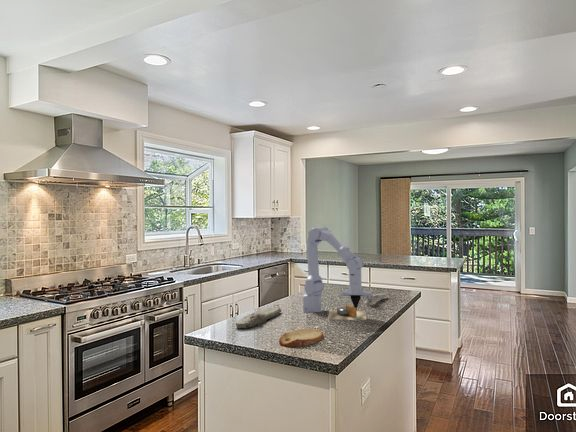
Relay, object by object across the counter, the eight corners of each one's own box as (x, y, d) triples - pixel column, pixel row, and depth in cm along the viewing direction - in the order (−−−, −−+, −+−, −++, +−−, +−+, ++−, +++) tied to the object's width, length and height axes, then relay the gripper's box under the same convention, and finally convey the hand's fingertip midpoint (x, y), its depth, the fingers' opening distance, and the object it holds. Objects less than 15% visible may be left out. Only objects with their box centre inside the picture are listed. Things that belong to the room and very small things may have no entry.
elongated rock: (286, 316, 199) (269, 315, 203) (286, 305, 199) (269, 304, 204) (249, 330, 168) (230, 329, 172) (249, 318, 168) (230, 317, 173)
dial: (334, 312, 193) (333, 303, 193) (347, 310, 196) (347, 301, 196) (347, 318, 181) (347, 308, 181) (362, 316, 184) (362, 306, 184)
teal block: (353, 318, 182) (353, 318, 182) (355, 318, 182) (355, 317, 182) (355, 319, 180) (355, 319, 180) (358, 319, 180) (358, 318, 180)
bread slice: (322, 333, 164) (322, 324, 164) (326, 347, 146) (325, 338, 146) (280, 334, 164) (280, 325, 164) (278, 348, 146) (278, 338, 146)
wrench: (386, 303, 231) (365, 307, 206) (383, 302, 232) (362, 306, 208) (387, 289, 231) (365, 292, 207) (384, 289, 232) (362, 291, 208)
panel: (327, 321, 182) (327, 318, 182) (329, 311, 200) (329, 309, 200) (366, 322, 179) (366, 320, 179) (365, 312, 197) (365, 310, 197)
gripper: (370, 281, 188) (370, 309, 188) (340, 281, 191) (340, 308, 191) (371, 284, 181) (371, 313, 181) (339, 283, 184) (340, 312, 184)
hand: (355, 311), depth 186 cm, fingers closed
